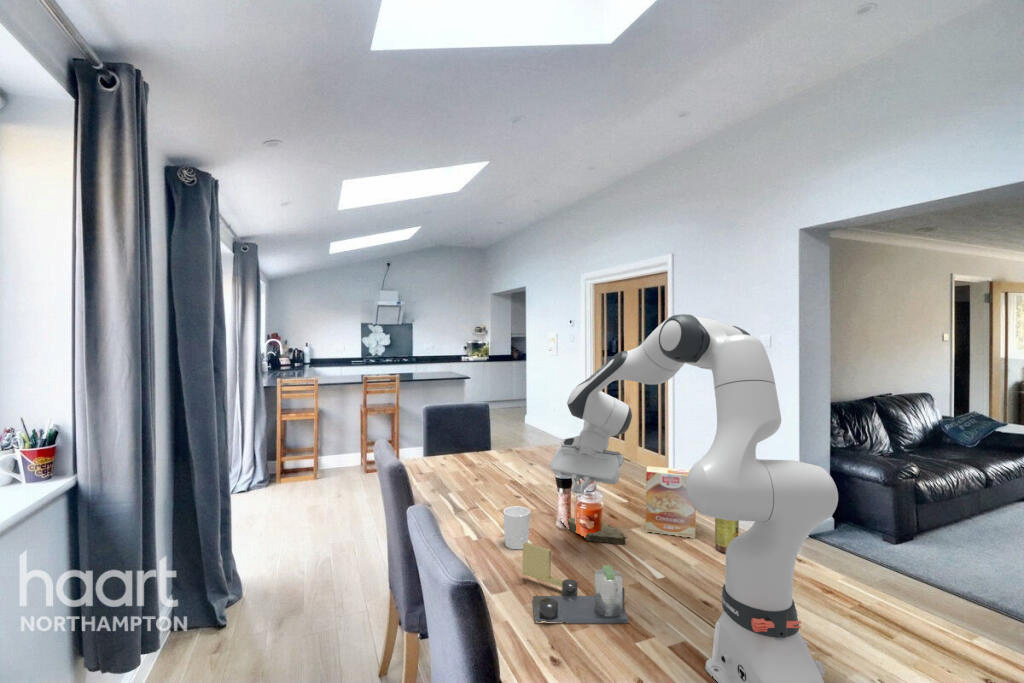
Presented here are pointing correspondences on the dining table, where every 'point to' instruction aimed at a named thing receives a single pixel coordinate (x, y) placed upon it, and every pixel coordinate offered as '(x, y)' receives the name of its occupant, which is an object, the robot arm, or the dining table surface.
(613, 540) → the stone slab
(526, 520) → the white cup
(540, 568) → the olive upright panel
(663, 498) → the coffeecake box
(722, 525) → the sauce bottle
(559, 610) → the base
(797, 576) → the dining table surface
